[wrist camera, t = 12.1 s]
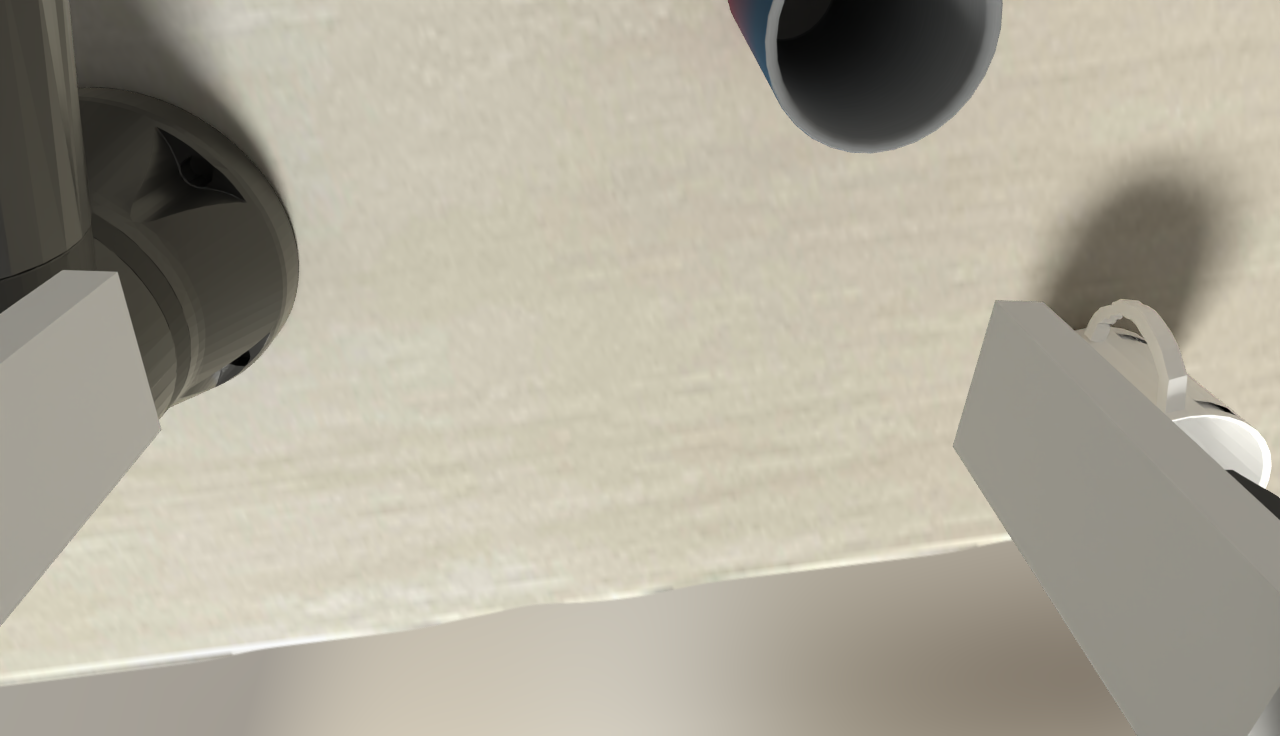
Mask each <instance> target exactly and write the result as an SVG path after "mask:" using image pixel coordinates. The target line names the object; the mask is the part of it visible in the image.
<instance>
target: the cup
mask: <svg viewBox="0 0 1280 736" xmlns="http://www.w3.org/2000/svg"><path fill="white" fill-rule="evenodd" d="M728 3H729V6H730V10H731V13H732V15H733V17H734V19H735V21H736V23H737V24H738V26H739V28H740V30H741V32H742V34H743V36H744V38H745V40H746V41H747V43H748V45H749V47H750V49H751V51H752V53H753V55H754V56H755V58H756V60H757V62H758V64H759V66H760V68H761V70H762V72H763V73H764V75H765V77H766V79H767V81H768V83H769V85H770V87H771V89H772V90H773V92H774V94H775V96H776V98H777V100H778V102H779V104H780V105H781V107H782V109H783V110H784V111H785V113H786V114H787V115H788V116H789V118H790V119H791V120H792V121H793V123H794V124H795V125H796V126H797V127H799V128H800V129H801V130H802V131H803V132H805V133H806V134H807V135H808V136H810V137H811V138H812V139H815V140H817V141H819V142H821V143H823V144H825V145H827V146H829V147H831V148H835V149H839V150H843V151H847V152H854V153H877V152H883V151H889V150H895V149H897V148H900V147H903V146H906V145H909V144H912V143H914V142H917V141H918V140H920V139H922V138H924V137H925V136H927V135H929V134H931V133H933V132H934V131H936V130H937V129H939V128H940V127H941V126H942V125H944V124H945V123H946V122H947V121H948V120H950V119H951V118H952V117H953V116H955V115H956V113H957V112H958V111H959V110H960V109H961V108H962V107H963V106H964V105H965V103H966V102H967V101H968V100H969V99H970V98H971V97H972V95H973V94H974V92H975V90H976V89H977V87H978V86H979V84H980V83H981V81H982V79H983V78H984V76H985V74H986V72H987V70H988V67H989V65H990V63H991V60H992V58H993V56H994V54H995V50H996V46H997V42H998V38H999V34H1000V30H1001V19H1002V4H1003V3H1002V0H728Z"/></svg>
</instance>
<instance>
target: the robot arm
mask: <svg viewBox="0 0 1280 736" xmlns="http://www.w3.org/2000/svg"><path fill="white" fill-rule="evenodd" d="M298 276H299V265H298V254H297V248H296V243H295V238H294V235H293V231H292V228H291V225H290V222H289V220H288V217H287V215H286V213H285V210H284V208H283V206H282V204H281V202H280V200H279V199H278V197H277V195H276V193H275V192H274V190H273V189H272V187H271V185H270V184H269V183H268V181H267V180H266V178H265V177H264V176H263V174H262V173H261V172H260V171H259V169H258V168H257V167H256V166H255V165H254V164H253V162H252V161H251V160H250V159H249V158H248V157H247V156H246V155H245V154H244V153H243V152H242V151H241V150H240V149H239V148H238V147H237V146H236V145H234V144H233V143H232V142H231V141H230V140H229V139H227V138H226V137H225V136H224V135H222V134H221V133H220V132H218V131H217V130H216V129H214V128H213V127H211V126H210V125H208V124H207V123H205V122H204V121H202V120H201V119H199V118H197V117H195V116H194V115H192V114H190V113H188V112H186V111H184V110H182V109H180V108H178V107H176V106H174V105H171V104H169V103H167V102H164V101H161V100H158V99H156V98H153V97H149V96H146V95H143V94H139V93H134V92H130V91H125V90H118V89H110V88H77V77H76V67H75V56H74V46H73V36H72V25H71V15H70V4H69V0H0V626H1V625H2V624H3V623H4V621H5V620H6V619H7V618H8V617H9V615H10V614H11V613H12V612H13V610H14V609H15V608H16V607H17V606H18V604H19V603H20V602H21V601H22V599H23V598H24V597H25V596H26V595H27V593H28V592H29V591H30V590H31V588H32V587H33V586H34V585H35V584H36V582H37V581H38V580H39V579H40V577H41V576H42V575H43V574H44V573H45V571H46V570H47V569H48V568H49V566H50V565H51V564H52V563H53V562H54V560H55V559H56V558H57V557H58V555H59V554H60V553H61V552H62V551H63V549H64V548H65V547H66V546H67V544H68V543H69V542H70V541H71V540H72V538H73V537H74V536H75V535H76V533H77V532H78V531H79V530H80V529H81V527H82V526H83V525H84V524H85V522H86V521H87V520H88V519H89V518H90V516H91V515H92V514H93V513H94V511H95V510H96V509H97V508H98V507H99V505H100V504H101V503H102V502H103V500H104V499H105V498H106V497H107V496H108V494H109V493H110V492H111V491H112V489H113V488H114V487H115V486H116V485H117V483H118V482H119V481H120V480H121V478H122V477H123V476H124V475H125V474H126V472H127V471H128V470H129V469H130V467H131V466H132V465H133V464H134V463H135V461H136V460H137V459H138V458H139V456H140V455H141V454H142V453H143V452H144V450H145V449H146V448H147V447H148V445H149V444H150V443H151V442H152V441H153V439H154V438H155V437H156V436H157V434H158V433H159V432H160V431H161V426H160V423H159V419H160V418H161V417H162V416H163V414H164V413H165V412H166V411H167V410H168V408H170V407H172V406H174V405H176V404H179V403H181V402H183V401H185V400H187V399H190V398H192V397H194V396H196V395H199V394H201V393H203V392H205V391H208V390H210V389H212V388H214V387H216V386H219V385H221V384H223V383H225V382H227V381H229V380H231V379H232V378H234V377H236V376H237V375H239V374H240V373H242V372H243V371H244V370H246V369H247V368H248V367H249V366H251V365H252V364H253V363H254V362H255V361H256V360H257V359H258V358H259V357H260V356H261V355H262V354H263V353H264V351H265V350H266V349H267V348H268V346H269V345H270V344H271V342H272V341H273V340H274V338H275V337H276V336H277V334H278V333H279V331H280V330H281V329H282V327H283V326H284V324H285V322H286V320H287V318H288V317H289V314H290V312H291V310H292V307H293V304H294V301H295V297H296V293H297V286H298ZM953 447H954V449H955V451H956V452H957V454H958V455H959V457H960V458H961V460H962V462H963V463H964V465H965V466H966V468H967V469H968V471H969V473H970V474H971V476H972V477H973V479H974V480H975V482H976V484H977V485H978V487H979V488H980V490H981V491H982V493H983V495H984V496H985V498H986V499H987V501H988V502H989V504H990V506H991V507H992V509H993V510H994V512H995V513H996V515H997V517H998V518H999V520H1000V521H1001V523H1002V524H1003V526H1004V528H1005V529H1006V531H1007V532H1008V534H1009V535H1010V537H1011V539H1012V540H1013V542H1014V543H1015V545H1016V546H1017V548H1018V550H1019V551H1020V553H1021V554H1022V556H1023V557H1024V559H1025V561H1026V562H1027V564H1028V565H1029V567H1030V568H1031V570H1032V572H1033V573H1034V575H1035V576H1036V578H1037V579H1038V581H1039V583H1040V584H1041V585H1042V587H1043V589H1044V590H1045V592H1046V594H1047V595H1048V596H1049V598H1050V600H1051V601H1052V603H1053V604H1054V606H1055V608H1056V609H1057V611H1058V612H1059V614H1060V615H1061V617H1062V619H1063V620H1064V622H1065V623H1066V625H1067V627H1068V628H1069V630H1070V631H1071V633H1072V634H1073V636H1074V637H1075V639H1076V641H1077V642H1078V644H1079V645H1080V647H1081V648H1082V650H1083V651H1084V653H1085V655H1086V656H1087V658H1088V659H1089V661H1090V662H1091V664H1092V666H1093V667H1094V669H1095V670H1096V672H1097V674H1098V675H1099V677H1100V678H1101V680H1102V681H1103V683H1104V684H1105V686H1106V688H1107V689H1108V691H1109V692H1110V694H1111V696H1112V697H1113V699H1114V700H1115V702H1116V703H1117V705H1118V707H1119V708H1120V710H1121V711H1122V713H1123V714H1124V716H1125V718H1126V719H1127V721H1128V722H1129V724H1130V725H1131V727H1132V728H1133V730H1134V732H1135V733H1136V735H1137V736H1280V498H1279V497H1278V496H1276V495H1275V494H1273V493H1271V492H1270V491H1268V490H1266V489H1264V488H1263V487H1261V486H1259V485H1258V484H1256V483H1254V482H1252V481H1251V480H1249V479H1247V478H1246V477H1244V476H1242V475H1241V474H1239V473H1237V472H1235V471H1234V470H1225V469H1224V468H1223V467H1222V466H1221V465H1219V464H1218V463H1217V462H1216V461H1215V460H1214V459H1213V458H1212V457H1211V456H1210V455H1209V454H1208V453H1206V452H1205V451H1204V450H1203V449H1202V448H1201V447H1200V446H1199V445H1198V444H1197V443H1196V442H1195V441H1193V440H1192V439H1191V438H1190V437H1189V436H1188V435H1187V434H1186V433H1185V432H1184V431H1183V430H1182V429H1180V428H1179V427H1178V426H1177V425H1176V424H1175V423H1174V422H1173V421H1172V420H1171V419H1170V418H1169V417H1167V416H1166V415H1165V414H1164V413H1163V412H1162V411H1161V410H1160V409H1159V408H1158V407H1157V406H1156V405H1154V404H1153V403H1152V402H1151V401H1150V400H1149V399H1148V398H1147V397H1146V396H1145V395H1144V394H1143V393H1141V392H1140V391H1139V390H1138V389H1137V388H1136V387H1135V386H1134V385H1133V384H1132V383H1131V382H1130V381H1128V380H1127V379H1126V378H1125V377H1124V376H1123V375H1122V374H1121V373H1120V372H1119V371H1118V370H1117V369H1115V368H1114V367H1113V366H1112V365H1111V364H1110V363H1109V362H1108V361H1107V360H1106V359H1105V358H1104V357H1102V356H1101V355H1100V354H1099V353H1098V352H1097V351H1096V350H1095V349H1094V348H1093V347H1092V346H1091V345H1089V344H1088V343H1087V342H1086V341H1085V340H1084V339H1083V338H1082V337H1081V336H1080V335H1079V334H1078V333H1076V332H1075V331H1074V330H1073V329H1072V328H1071V327H1070V326H1069V325H1068V324H1067V323H1066V322H1065V321H1063V320H1062V319H1061V318H1060V317H1059V316H1058V315H1057V314H1056V313H1055V312H1054V311H1053V310H1052V309H1050V308H1049V307H1048V306H1047V305H1046V304H1045V303H1044V302H1034V301H1003V300H995V303H994V307H993V310H992V314H991V317H990V321H989V324H988V327H987V331H986V334H985V338H984V341H983V344H982V348H981V351H980V355H979V358H978V362H977V365H976V368H975V372H974V375H973V379H972V382H971V385H970V389H969V392H968V396H967V399H966V403H965V406H964V409H963V413H962V416H961V420H960V423H959V426H958V430H957V433H956V437H955V440H954V443H953Z"/></svg>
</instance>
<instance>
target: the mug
mask: <svg viewBox="0 0 1280 736" xmlns="http://www.w3.org/2000/svg"><path fill="white" fill-rule="evenodd" d="M1123 316H1124V317H1125V318H1127V319H1130V320H1131V321H1132V322H1134V323H1135V324H1136V326H1137V328H1138V330H1139V331H1140V333H1141V334H1142V336H1143V337H1141V336H1139V335H1138V334H1136V333H1134V332H1131V331H1129V330H1126V329H1123V328H1115V327H1110V324H1114V323H1115V322H1116V320H1117V319H1122V317H1123ZM1075 332H1076V333H1078V334H1079V335H1080V336H1081V337H1082V338H1083V339H1084V340H1085V341H1086V342H1087V343H1088V344H1089V345H1091V346H1092V347H1093V348H1094V349H1095V350H1096V351H1097V352H1098V353H1099V354H1100V355H1101V356H1102V357H1104V358H1105V359H1106V360H1107V361H1108V362H1109V363H1110V364H1111V365H1112V366H1113V367H1114V368H1115V369H1117V370H1118V371H1119V372H1120V373H1121V374H1122V375H1123V376H1124V377H1125V378H1126V379H1127V380H1128V381H1130V382H1131V383H1132V384H1133V385H1134V386H1135V387H1136V388H1137V389H1138V390H1139V391H1140V392H1141V393H1143V394H1144V395H1145V396H1146V397H1147V398H1148V399H1149V400H1150V401H1151V402H1152V403H1153V404H1154V405H1156V406H1157V407H1158V408H1159V409H1160V410H1161V411H1162V412H1163V413H1164V414H1165V415H1166V416H1167V417H1169V418H1170V419H1171V420H1172V421H1173V422H1174V423H1175V424H1176V425H1177V426H1178V427H1179V428H1180V429H1182V430H1183V431H1184V432H1185V433H1186V434H1187V435H1188V436H1189V437H1190V438H1191V439H1192V440H1193V441H1195V442H1196V443H1197V444H1198V445H1199V446H1200V447H1201V448H1202V449H1203V450H1204V451H1205V452H1206V453H1208V454H1209V455H1210V456H1211V457H1212V458H1213V459H1214V460H1215V461H1216V462H1217V463H1218V464H1219V465H1221V466H1222V467H1223V468H1224V469H1225V470H1234V471H1235V472H1237V473H1239V474H1241V475H1242V476H1244V477H1246V478H1247V479H1249V480H1251V481H1252V482H1254V483H1256V484H1258V485H1259V486H1261V487H1263V488H1264V489H1266V487H1267V484H1268V482H1269V478H1270V472H1271V455H1270V451H1269V448H1268V446H1267V443H1266V441H1265V439H1264V438H1263V437H1262V436H1261V435H1260V434H1259V432H1258V431H1257V430H1256V429H1255V428H1253V427H1252V426H1251V425H1250V424H1248V423H1247V422H1246V421H1245V420H1244V419H1242V418H1241V417H1240V416H1239V415H1237V414H1236V413H1235V412H1234V411H1233V410H1231V409H1230V408H1229V407H1228V406H1226V405H1225V404H1224V403H1223V402H1222V401H1220V400H1219V399H1218V398H1217V397H1215V396H1214V395H1213V394H1212V393H1211V392H1209V391H1208V390H1207V389H1206V388H1204V387H1203V386H1202V385H1201V384H1200V383H1198V382H1197V381H1196V380H1195V379H1193V378H1192V377H1191V376H1190V375H1189V374H1187V372H1186V369H1185V365H1184V362H1183V359H1182V356H1181V352H1180V349H1179V346H1178V344H1177V342H1176V340H1175V338H1174V336H1173V334H1172V332H1171V331H1170V329H1169V328H1168V326H1167V325H1166V323H1165V322H1164V320H1163V319H1162V318H1161V317H1160V315H1159V314H1158V313H1157V312H1156V311H1155V310H1154V309H1152V308H1151V307H1149V306H1148V305H1144V304H1142V303H1141V302H1140V301H1138V300H1128V299H1119V300H1118V301H1116V302H1112V305H1107V306H1104V307H1100V308H1099V310H1098V311H1096V312H1095V313H1094V314H1093V316H1092V318H1091V319H1090V321H1089V323H1088V326H1087V328H1083V329H1079V330H1075Z"/></svg>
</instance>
